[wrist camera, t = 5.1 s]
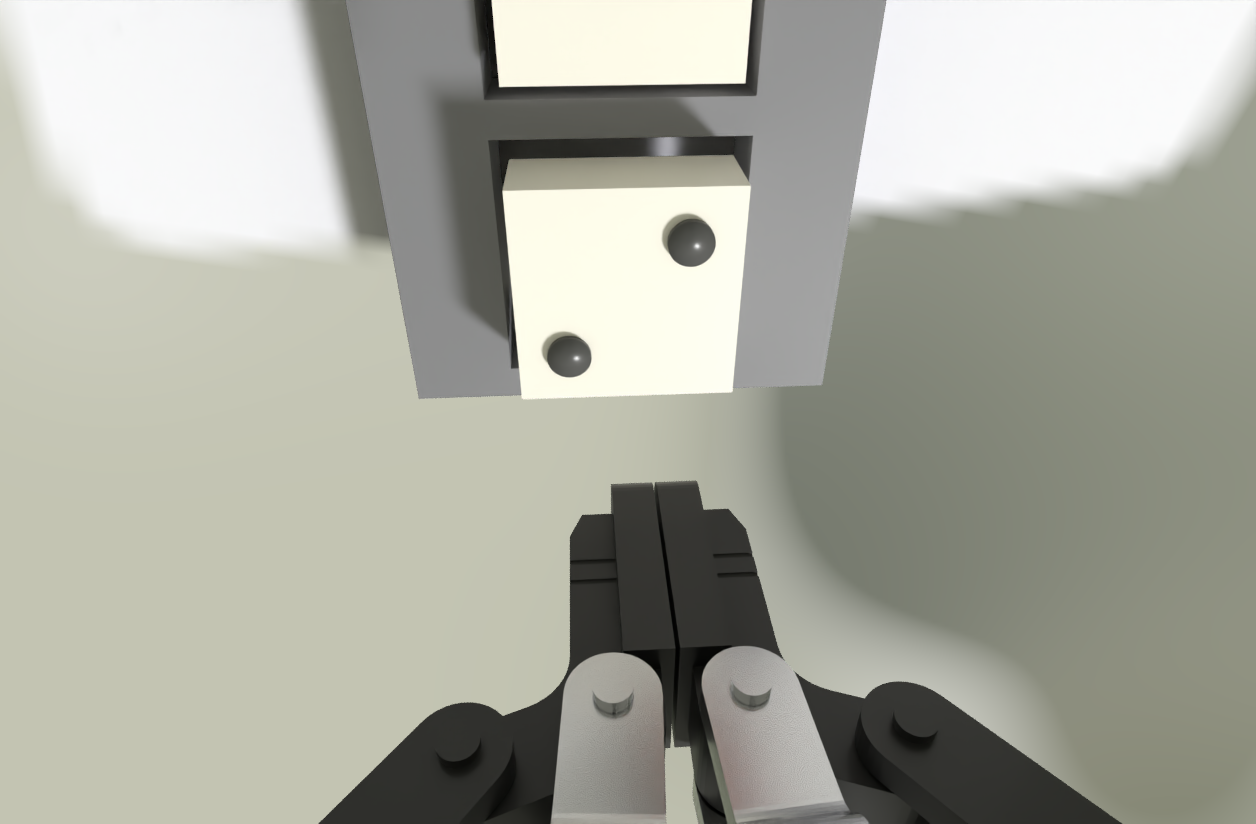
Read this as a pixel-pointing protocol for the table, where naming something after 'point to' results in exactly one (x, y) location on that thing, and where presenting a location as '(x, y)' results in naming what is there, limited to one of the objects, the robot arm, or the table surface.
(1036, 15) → the table surface
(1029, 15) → the table surface
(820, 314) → the grey tile tray
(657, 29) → the tile one
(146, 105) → the table surface
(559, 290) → the tile two
